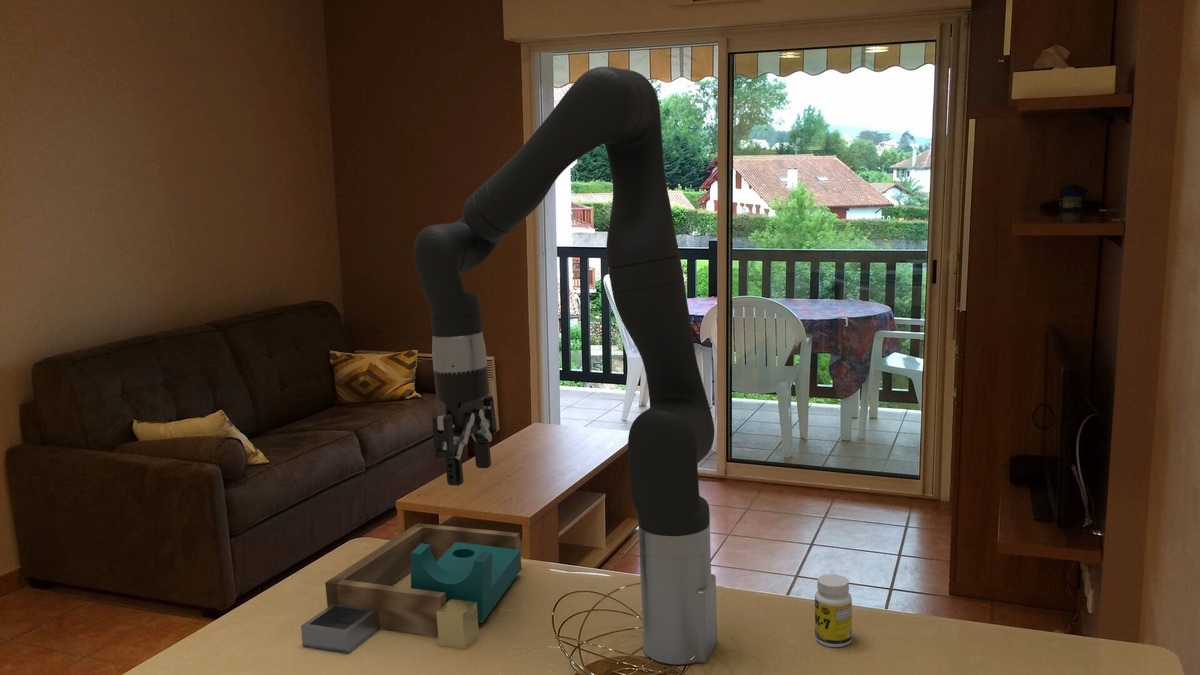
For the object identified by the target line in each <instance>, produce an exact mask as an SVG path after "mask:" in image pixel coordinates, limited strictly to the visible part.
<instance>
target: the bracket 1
mask: <svg viewBox="0 0 1200 675" xmlns="http://www.w3.org/2000/svg"><path fill="white" fill-rule="evenodd" d="M520 536H521V535H520V532H511V531H510V532H509V531H501V530H500V531H499V530H489V529H480V528H479V529H478V528H470V527H469V528H468V527H459V526H450V525H439V524H430V523H420V522H417V523H415V524H414V525H413V526H411V527H409V528H407V529H406V530H405V531H403V532H402V533H400V534H399V535H397V536H395V537H394V538H392V539H391V540H389V541H387V542H385V543H384V544H383V545H381V546H379V547H378V548H376V549H375V550H374V551H372V552H370V553H369V554H367V555H365V556H364V557H362V558H361V559H360V560H358V561H357V562H355V563H353V564H352V565H350V566H348V567H347V568H345V569H344V570H341V572H339V573H338V574H336V575H335V576H333V577H332V578H330V579H328V580H327V581H325V582H324V584H325V593H326V604H327V607H326V608H328V607H329V606H331V605H332V604H334V603H337V604H345V605H352V606H359V607H367V608H374V609H378V610H379V622H380V630H384V631H392V632H399V633H405V634H412V635H420V636H426V637H433V638H438V626H437V613H436V611H437V610H439V609H440V608H441V607H442V606H443V605H445V604H446V593H444V592H436V591H428V590H420V589H412V588H411V587H402V586H395V584H397V583H398V582H399V581H401V580H402V579H404V578H405V577H407V576H408V575H409V574H411V552H412V551H413V550H415V549H416V548H417V547H418V546H419V545H420V544H421V543H423V544H430V546H431V552H432V555H433V557H434V559H435V561H436V562H437V561H438V560H439V559H440V558H441V557H442V556H443V555H444V553H445V552H446V551H447V550H448V549H449V548H450V547H451V546H452V545H453V544H454V543H455V542H461V543H469V544H477V545H485V546H492V547H500V548H508V549H516V550H520V570H522V557H521V556H522V555H521V554H522V553H521V541H520V540H521V539H520V538H521V537H520Z"/></svg>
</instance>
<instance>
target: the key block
mask: <svg viewBox="0 0 1200 675" xmlns="http://www.w3.org/2000/svg"><path fill="white" fill-rule="evenodd" d="M436 613H437V626H438V637H437V638H438V639H437V640H438V646H441V647H446V648H452V649H457V650H458V649H459V650H466V649H468V647H469V646H471V644H473V642H475V641H476V640H477V639H478V638H479V637H480V632H479V631H480V630H479V622H478V615H477V602H470V601H462V600H454V599H451V600H449V601H448V602H447V603H446V604H445V605H443V606H442V607H441V608H440V609H439V610H437V611H436Z"/></svg>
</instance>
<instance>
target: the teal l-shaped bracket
mask: <svg viewBox="0 0 1200 675" xmlns="http://www.w3.org/2000/svg"><path fill="white" fill-rule="evenodd" d="M520 552H521V549H520V550H516V549H508V548H500V547H492V546H485V545H477V544H469V543H461V542H455V543H454V544H453V545H452V546H451V547H450V548H449V549H448V550H447V551H446V552H445V553H444V555H443V556H442V557H441V558H440V559H439V560H438V561H437V562H436V561H435V559H434V557H433V555H432V552H431V546H430V544H423V543H421V544H420V545H419V546H418V547H417V548H416V549H415V550H413V551H412V552H411V573H410V588H412V589H420V590H428V591H436V592H444V593H446V603H447V602H448V601H449V600H451V599H454V600H462V601H470V602H477V615H478V623H483V622H484V621H485V620H486V619H487V617H488V615H490V613H491V612H492V610H493V609H494V608H495V606H496V605H497V604H498V602H499V601H500V600H501V598H502V596H503V595H504V594H505V593H506V591H507V590H508V589H509V587H510V586H511V584H512V583H513V582H514V580H515V579H516V578H517V576H518V575H519V573H520V572H521V569H520Z"/></svg>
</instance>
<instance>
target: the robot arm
mask: <svg viewBox="0 0 1200 675" xmlns="http://www.w3.org/2000/svg"><path fill="white" fill-rule="evenodd" d="M661 118H662V117H661V108H660V101H659V98H658V95H657V92H656V90H655V87H654V86H653V85H652V83H651V81H649V79H647V77H645V76H644V75H643V74H641V73H639V72H638V71H634V70H631V69H626V68H620V67H619V68H618V67H612V66H598V67H594V68H591V69H589V70H587V71H585V72H584V73H582V74H581V75H580V76H578V78H577V79H576V80H575V82H574V83H573V84H572V85H571V86H570V87H569V88H568V90H567V91H566V92H565V94H564V95H563V96H562V97H561V99H560V100H559V102H557V104H556V106H555V107H554V109H553V110H552V111H551V112H550V114H549V115H548V116H547V117H546V118H545V120H543V122H542V123H541V124H540V126H539V127H538V128H537V129H536V130H535V131H534V133H533V134H532V135H531V137H530V138H529V139H528V140H527V141H526V142H525V143H524V144H523V145H522V146H521V147H520V149H519V150H518V151H516V153H515V154H514V155H513V156H512V157H510V159H509V160H508V161H507V162H506V163H505V164H504V165H503V166H502V167H500V168H499V169H498V170H497V171H496V172H495V173H493V175H491V176H490V177H489V178H488V179H487V180H486V181H485V182H484V183H483V184H481V185H480V186H479V187H478V188H477V189H476V190H475V191H474V192H473V193H472V194H471V195H470V196H469V197H468V198H467V200H466V201H465V203H464V204H463V210H462V215H463V216H462V217H461V218H459V219H458V220H457V221H455V222H449V223H439V224H432V225H428V226H426V227H424V228H423V229H421V231H419V233H418V235H417V236H416V238H415V240H414V247H413V261H414V266H415V269H416V273H417V276H418V279H419V282H420V284H421V288H422V290H423V294H424V296H425V299H426V301H427V303H428V306H429V311H430V323H431V324H430V326H431V335H432V337H431V338H432V341H431V342H432V345H431V348H432V349H431V354H432V355H431V358H432V366H433V378H434V387H435V388H434V389H435V397H436V400H438V401H439V402H441V403H442V404H444V405H445V408H444V414H442V415H441V414H440V415H437V414H434V415H433V416H432V431H433V432H432V433H433V434H432V436H433V450H434V451H433V452H434V458H435V459H442V460H444V461H445V472H446V484H448V486H458V487H459V486H461V485H463V483H464V482H465V481H464V472H463V461H462V458H461V457H462V455H463V449H464V446H466V445H468V443H469V438H470V437H471V438H472V439H473V441H474V442H475V443H473V449H474V460H475V461H474V462H475V467H476V468H478V469H489V468H490V467H491V466H492V457H491V447H490V445H491V444H490V442H492V440H493V439H492V438H493V435H494V436H495V435H496V434H497V432H498V428H497V420H496V419H497V418H496V409H495V402H494V397H493V395H489V394H490V383H489V372H488V361H487V349H486V343H485V340H484V333H483V324H482V322H483V321H482V313H481V311H482V310H481V304H480V300H479V296H478V294H476V293H475V292H474V291H471V290H467V289H464V288H465V287H464V285H463V283H462V279H461V276H460V273H461V274H462V273H467V272H469V271H472V270H474V269H476V268H477V267H479V266H480V265H481V264H482V263H483V262H485V261H486V260H487V259H488V257H489V256H490V255H491V254H492V253H493V252H494V250H495V249H496V248H497V247H498V245H499V244H500V242H501V240H502V239H503V238H504V236H505V235H507V234H509V232H511V231H512V230H513V229H514V228H515V227H517V226H518V225H519V224H520V223H522V222H523V221H524V220H525V219H526V218H527V217H528V216H530V214H531V213H533V211H534V210H536V209H537V207H538V206H539V205H540V204H541V203H542V202H543V201H544V199H545V197H546V196H547V194H548V193H549V192H550V189H551V188H552V186H553V185H554V183H555V182H556V181H557V179H558V178H559V177H560V175H561V174H562V173H563V172H564V171H565V170H566V169H568V168H569V167H570V165H572V164H573V163H574V162H576V161H577V160H579V159H580V158H581V157H583V156H585V155H586V154H588V153H589V152H591V151H593V150H595V149H596V148H598V147H601V145H604V147H605V150H606V155H607V160H608V164H609V168H610V173H611V180H612V201H611V203H612V204H611V210H610V218H609V222H608V228H607V235H606V236H607V237H606V246H605V247H606V250H605V253H606V254H605V255H606V262H607V263H606V264H607V269H608V275H609V277H608V278H609V281H610V282H609V283H610V287H611V292H612V297H613V301H614V305H615V308H616V311H617V313H618V315H619V317H620V319H621V322H622V324H623V326H624V328H625V330H626V331H627V333H628V335H629V337H630V338H631V340H632V342H633V344H634V345H635V347H636V349H637V351H638V353H639V355H640V358H641V360H642V363H643V369H644V371H645V372H644V373H645V377H646V383H647V389H648V397H649V398H648V399H649V408H648V409H646V410H644V411H643V412H641V413H640V414H639V415H638V416H637V417H636V418H635V419H634V420H633V422H632V424H631V426H630V428H629V432H628V437H627V439H628V440H627V459H628V463H627V464H628V473H629V474H628V475H629V483H630V486H629V487H630V496H631V502H632V505H633V507H634V510H635V511H636V515H637V520H638V523H637V524H638V525H637V526H638V546H639V547H638V550H639V551H638V552H639V573H640V575H639V576H640V595H641V596H640V597H641V598H640V599H641V600H640V601H641V602H640V603H641V621H642V623H641V624H642V640H643V641H642V643H643V644H642V645H643V652H644V653H645V654H646V656H647V657H649V658H650V659H652V660H654V661H656V662H658V663H662V664H668V665H690V664H694V663H702V664H703V663H704V664H705V663H707V662H708V660H710V657H711V655H712V654H713V651H714V650H715V647H716V646H717V644H718V613H717V612H718V610H717V607H718V606H717V605H718V604H717V576H716V575H715V574H714V573H713V574H712V556H711V555H712V554H711V553H712V552H711V523H710V522H711V521H710V520H711V518H710V517H711V515H710V514H711V513H710V505H709V502H708V501H707V500H706V499H705V498H704V496H703V497H702V496H701V495H700V487H699V485H700V484H699V471H698V470H699V466H698V464H699V463H700V462H701V461H703V460H704V459H705V457H706V456H708V454H709V453H710V450H711V449H712V447H713V444H714V439H715V424H714V419H713V415H712V411H711V407H710V404H709V400H708V397H707V396H708V395H707V394H706V393H707V392H706V389H705V387H704V383H703V382H704V381H703V379H702V376H701V372H700V368H699V364H698V360H697V355H696V350H695V344H694V336H693V330H692V328H693V327H692V323H691V317H690V311H689V304H688V298H687V292H686V284H685V276H684V273H683V265H682V260H681V255H680V249H679V244H678V239H677V235H676V229H675V223H674V218H673V217H674V216H673V211H672V206H671V201H670V197H669V192H668V186H667V179H666V173H665V164H664V149H663V148H664V147H663V134H662V119H661ZM488 421H489V422H488ZM442 442H444V443H443V446H442ZM697 651H698V654H697V656H695V658H693V659H692V660H690V659H691V658H692V656H693V655H694V654H695V653H696V652H697ZM663 656H664V657H663Z"/></svg>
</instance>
